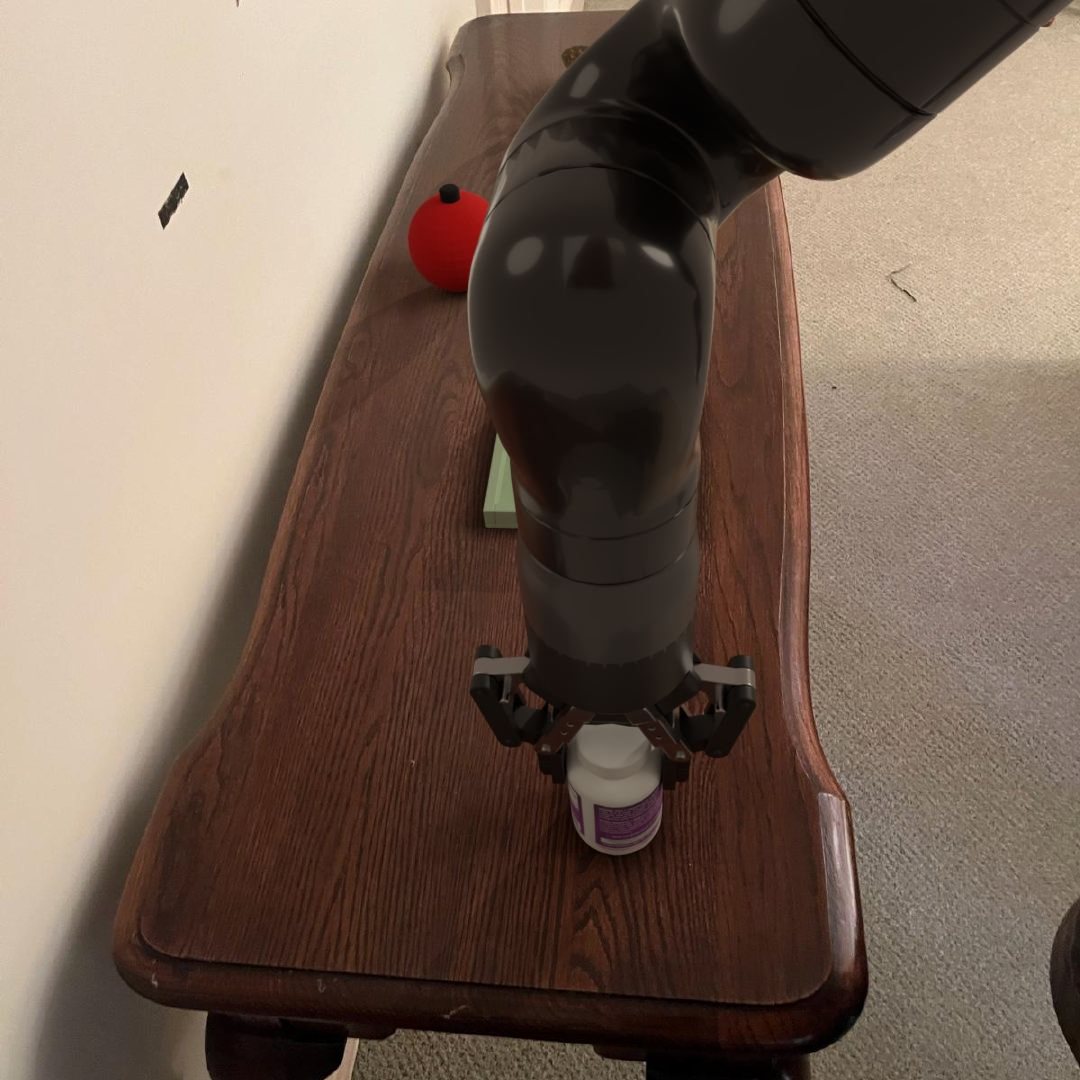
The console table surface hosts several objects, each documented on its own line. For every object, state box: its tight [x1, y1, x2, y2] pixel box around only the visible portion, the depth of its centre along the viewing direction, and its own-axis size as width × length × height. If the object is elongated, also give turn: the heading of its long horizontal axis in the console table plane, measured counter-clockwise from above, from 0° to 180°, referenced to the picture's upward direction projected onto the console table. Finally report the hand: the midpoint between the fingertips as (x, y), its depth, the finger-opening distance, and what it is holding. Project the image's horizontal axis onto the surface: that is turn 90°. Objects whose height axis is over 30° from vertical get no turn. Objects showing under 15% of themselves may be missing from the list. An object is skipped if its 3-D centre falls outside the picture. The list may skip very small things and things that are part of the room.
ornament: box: [407, 183, 490, 293], centre depth 91 cm, size 9×9×10 cm
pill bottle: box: [566, 724, 663, 856], centre depth 56 cm, size 5×5×10 cm
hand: (615, 771), depth 55 cm, fingers closed on pill bottle, 5 cm apart
